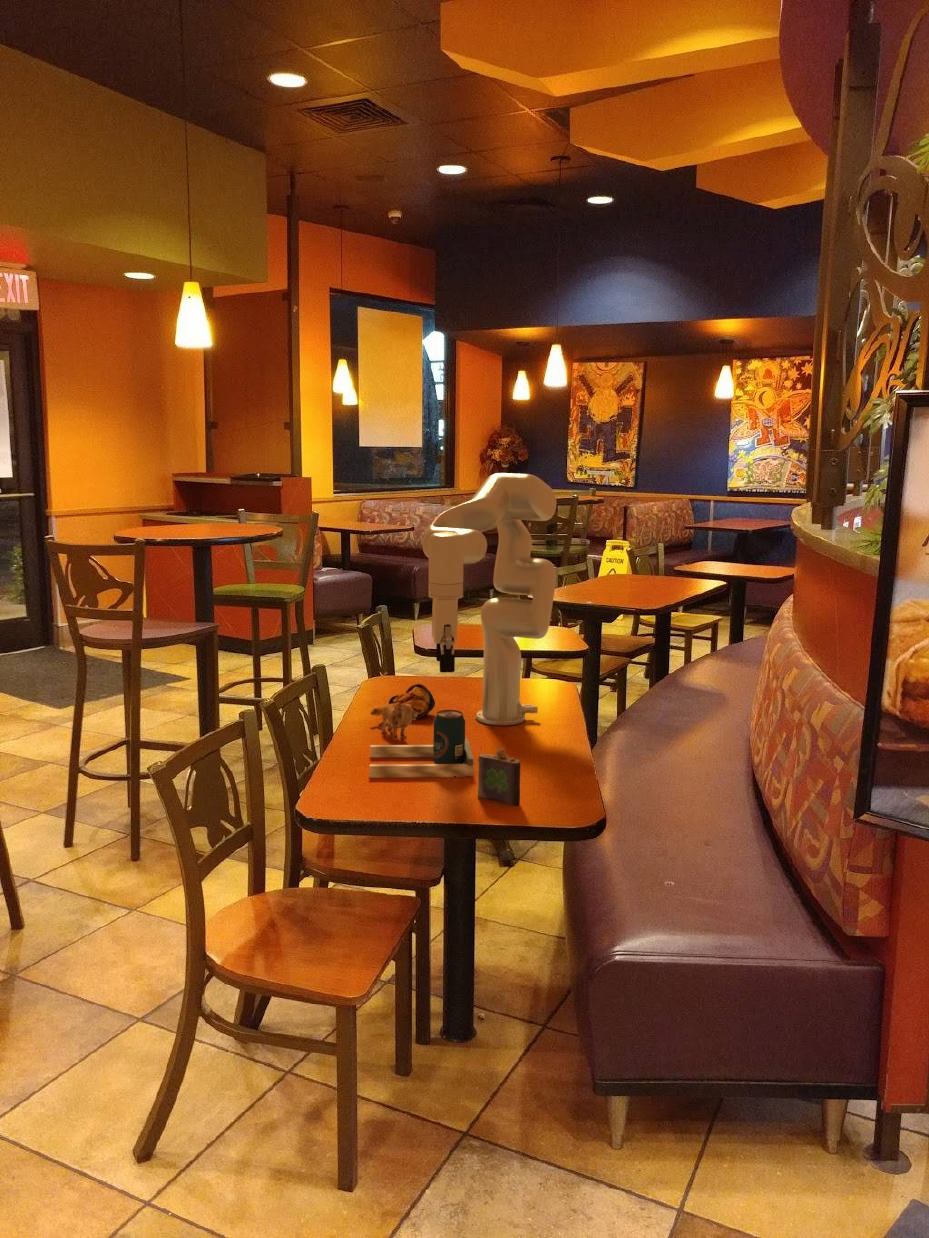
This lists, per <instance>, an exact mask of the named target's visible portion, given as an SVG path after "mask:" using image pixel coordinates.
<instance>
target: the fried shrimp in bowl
mask: <svg viewBox="0 0 929 1238" xmlns="http://www.w3.org/2000/svg"><path fill="white" fill-rule="evenodd" d="M404 704H410V705H411V708H412V709H413V710H414V711H415V712H417V713H418V714H417V717H416V719H420V718H421V717H425V716H427V715H428V714H429V713H430V712H431V711H433V709H434V708H435V706H436V702H435V698H434V696H433V693H432V692H431V691H430V690H429V689H428V688H427V687H426V686H425V685H424V684H422V683H415V684H412V685H411V686H409V687H408V688H407V690H406V691H405V693H400V694H396V695H394V696H391V697H390V699H389V700H388V704H387V705H392V706H394V707H395V708H396V707H399V706H401V705H404ZM387 705H381V706H378V707H377V708H373V709H371V711H370V715H371V716H375V717H376V716H378V717H379V716H381V715H382V716H383V710H384V708H385V706H387Z"/></svg>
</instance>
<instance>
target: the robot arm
mask: <svg viewBox="0 0 929 1238" xmlns="http://www.w3.org/2000/svg"><path fill="white" fill-rule="evenodd" d="M556 510H557V497H556V494H555V492H554V490H553V489H552V487H551V486H549V485H548V484H547V483H545V482H544V481H543V479H541V478H539V477H538V476H536V475H533V474H530V473H513V472H510V473H508V472H496V473H493V474H491V475H489V476H488V477H486V479H485V480H484V481H483V483H482V484H481V485H480V487H479V488H478V489H477V491H475V493H474V495H473V496H472V497H471V499H470V500H469V501H466V502H463V503H460V504H458V505H456V506H454V507H452V508H449V509H447V510H444V511H443V512H441V513H440V514H438V515H437V516H436V517H435V518H434V519H433V521H432V522H431V524H429V526H428V528H426V529H427V530H426V531H425V533H424V536H423V539H422V551H423V553H424V555H425V556H426V558H428V598H431V599H432V608H431V609H432V611H431V638H432V641H433V643H434V644H435V645H436V646H435V647H436V649H435V650H436V651H435V652H436V653H435V654H436V655H435V656H436V657H435V658H436V661H437V662H439V672H440V673H455V671H456V669H455V667H456V665H455V664H456V663H455V662H456V660H455V659H456V658H455V657H456V654H455V646H454V644H455V643H456V642H457V637H458V636H457V635H458V616H459V615H458V614H459V611H458V609H459V605H458V603H459V601H458V600H459V599H463V598H464V564H475V563H478V562H480V561H482V559H483V558H484V557H485V555H486V552H487V550H488V542H487V537H485V535H484V534H483V532H485V531H487V532H488V531H489V530H492V529H494V528H496V529H497V533H498V544H497V550H496V556H495V564H494V569H493V577H492V578H493V582H492V583H493V586H494V589H495V590H496V591H498V592H500V593H505V594H509V595H520V596H521V595H522V596H531V597H532V599H531V600H530V599H520V598H514V597H513V598H512V597H492V598H490V599H488V600H486V601H485V602H484V604H482V607H481V610H480V621H481V628H482V629H481V630H482V635H483V669H482V670H483V673H482V674H483V675H482V676H483V677H482V678H483V680H482V681H483V682H482V709H481V710H479V711H478V712H476V714H475V719H476V720H477V721H478V722H479V723H483V724H487V725H491V726H513V725H519V724H521V723H523V722H524V721H525V720H526V714H538V711H539V710H538V709H539V708H538V705H532V704H529V703H528V704H523V703H522V702H521V700H520V698H521V697H520V696H521V693H520V692H521V668H522V667H521V665H522V652H521V649H520V646H519V644H518V642H517V641H516V639H515V638H524V639H536V640H537V639H538V640H539V639H542V638H544V637H545V636H546V635H547V633H548V631H549V628H550V624H551V617H552V610H553V603H554V598H555V597H554V596H555V591H556V581H557V575H556V574H557V573H556V572H557V571H556V568H555V565H554V564H553V563H552V561H550V560H548V559H545V558H540V557H539V558H538V557H531V551H532V545H533V538H532V536H531V533H530V531H529V530H528V528H527V527H526V525H525V524H524V523H523V522H522V521H536V522H537V521H538V522H539V521H540V522H544V521H545V522H546V521H548V520H550V519H552V518H553V516H554V515H555V514H556V513H555V512H556Z"/></svg>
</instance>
